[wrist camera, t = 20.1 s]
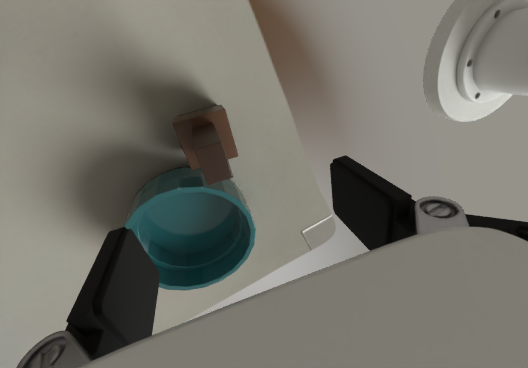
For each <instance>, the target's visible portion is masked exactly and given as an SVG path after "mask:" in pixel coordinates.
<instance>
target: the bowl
mask: <svg viewBox="0 0 528 368" xmlns="http://www.w3.org/2000/svg"><path fill="white" fill-rule="evenodd" d="M124 227H126V228H127V229H132V230H133V232H134V233H135V235H136V236H137V238H138V239H139V241H140V242H141V244H142V246H143V247H144V249H145V250H146V252H147V253H148V255H149V256H150V258H151V260H152V261H153V263H154V264H155V266H156V267H157V269H158V271H159V274H160V280H159V287H160V288H164V289H168V290H191V289H197V288H203V287H207V286H209V285H212V284H214V283H217V282H219V281H222V280H223V279H225V278H226V277H228V276H229V275H231V274H232V273H234V272H235V271H236V270H237V269H238V268H239V267H240V266H241V265H242V264H243V263H244V262H245V261H246V259H247V258H248V256H249V254H250V252H251V250H252V248H253V246H254V241H255V231H256V229H255V225H254V222H253V218H252V215H251V213H250V210H249V208H248V206H247V204H246V201H245V199H244V197H243V194H242V193H241V192H240V190H239V189H238V188H237V186H236V185H235V184H234V183H233V182H232V181H231V180H229V179H227V180H224V181H221V182H218V183H214V184H211V185H207V182H206V179H205V177H204V174H203V171H202V169H201V168H198V169H195V170H191V168H178V169H175V170H172V171H168V172H165V173H162V174H160V175H158V176H157V177H155V178H154V179H152V180H151V181H149V182H148V183H147V184H145V185H144V186H143V187H142V189H141V190H140V191H139V193H138V194H137V195H136V197H135V198H134V200H133V202H132V205H131V208H130V211H129V213H128V216H127V219H126V221H125V224H124Z"/></svg>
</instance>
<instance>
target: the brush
mask: <svg viewBox="0 0 528 368" xmlns="http://www.w3.org/2000/svg"><path fill="white" fill-rule="evenodd" d="M173 126H174V128H175V131H176V133H177V136H178V138H179V141H180V143H181V145H182V148H183V150H184V153H185V155H186V158H187V160H188V163H189V165H190V168H191V170H195V169H198V168H201V169H202V171H203V174H204V177H205V179H206V182H207V185H211V184H214V183H218V182H221V181H224V180H227V179H230V178H233V175H232V172H231V169H230V166H229V162H228V159H230V158H234V157H237V156H238V153H237V150H236V146H235V143H234V139H233V136H232V132H231V129H230V125H229V121H228V118H227V114H226V111H225V109H224V107H223V106H222V105H216V106H212V107H208V108H205V109H201V110H197V111H194V112H190V113H187V114H183V115H179V116H177V117H174V119H173Z"/></svg>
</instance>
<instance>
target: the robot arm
mask: <svg viewBox="0 0 528 368" xmlns="http://www.w3.org/2000/svg"><path fill="white" fill-rule="evenodd" d="M456 77H457V86H458V89H459V92H460V93H461V95H462V97H464V98H465V99H466V100H468V101H471V102H477V103H485V102H489V101H492V100H494V99H496V98H498V97H499V96H501V95H502V94H504V93H507V94H517V95H527V96H528V0H500V1H498V2H497V3H495V4H494V5H493V6H491V7H490V8H489V9H488V10H487V11H486V12H485V13H484V14H483V15H482V16H481V18H480V19H479V20H478V21H477V23H476V24H475V25H474V27H473V29H472V30H471V32H470V33H469V35H468V37H467V39H466V41H465V43H464V45H463V48H462V51H461V54H460V57H459V61H458V65H457V75H456ZM330 170H331V184H332V199H333V209H334V212H335V214H336V215H337V216H338V217H339V218H340V219H341V221H342V222H343V223H344V224H345V225H346V226H347V227H348V228H349V229H350V230H351V231H352V232H353V233H354V234H355V235H356V236H357V237H358V239H359V240H360V241H361V242H362V243H363V244H364V245H365V246H366V247H367V248H368V249H369V250H370V251H369V252H366V253H363V254H360V255H358V256H355V257H353V258H350V259H347V260H345V261H342V262H339V263H337V264H334V265H332V266H329V267H326V268H324V269H321V270H318V271H316V272H313V273H311V274H308V275H305V276H303V277H301V278H298V279H295V280H292V281H290V282H287V283H285V284H282V285H279V286H277V287H274V288H272V289H269V290H267V291H264V292H261V293H259V294H256V295H254V296H251V297H249V298H246V299H243V300H241V301H238V302H236V303H233V304H231V305H228V306H225V307H223V308H221V309H218V310H215V311H213V312H210V313H208V314H205V315H203V316H200V317H198V318H195V319H192V320H190V321H187V322H185V323H182V324H180V325H177V326H175V327H172V328H170V329H167V330H165V331H162V332H160V333H157V334H155V335H152V330H153V323H154V316H155V309H156V301H157V294H158V287H159V280H160V274H159V271H158V269H157V267H156V266H155V264H154V263H153V261H152V260H151V258H150V256H149V255H148V253H147V252H146V250H145V249H144V247H143V246H142V244H141V242H140V241H139V239H138V238H137V236H136V235H135V233H134V232H133V230H132V229H127V228H126V227H122V228H119V229H116V230H113V231H110V232H109V233H108V234H107V237H106V239H105V241H104V243H103V245H102V247H101V249H100V251H99V253H98V255H97V258H96V260H95V262H94V264H93V266H92V268H91V270H90V272H89V274H88V276H87V279H86V281H85V283H84V285H83V287H82V289H81V291H80V293H79V295H78V297H77V300H76V302H75V304H74V306H73V308H72V310H71V312H70V314H69V316H68V318H67V320H66V321H67V322H68V325H67V327H66V330H65V331H59V332H55V333H53V334H51V335H49V336H47V337H45V338H44V339H43V340H41V341H40V342H39V343H37V344H36V345H35V346H34V347H33V348H32V349H31V350H30V351H28V353H27V354H26V355H25V356H24V357H23V359H22V360H21V361H20V363H19V364H18V366H17V367H16V368H528V222H522V221H515V220H507V219H499V218H491V217H483V216H475V215H467V214H465V213H464V210H463V209H462V207H461V206H460V205H459V204H457V203H456V202H454V201H452V200H450V199H446V198H443V197H424V198H421V199H419V200H418V201H417V202H416V201H414V200H412V199H411V197H412V196H411V195H410V194H408V193H406V192H405V191H403V190H402V189H400V188H398V187H396V186H395V185H393V184H392V183H390V182H389V181H387V180H385V179H384V178H382V177H380V176H378V175H377V174H375V173H374V172H372V171H370V170H369V169H367V168H366V167H364V166H362V165H361V164H359V163H357V162H356V161H354V160H353V159H351V158H349V157H348V156H342V157H339V158H336V159H334V160H333V163H331V164H330Z"/></svg>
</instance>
